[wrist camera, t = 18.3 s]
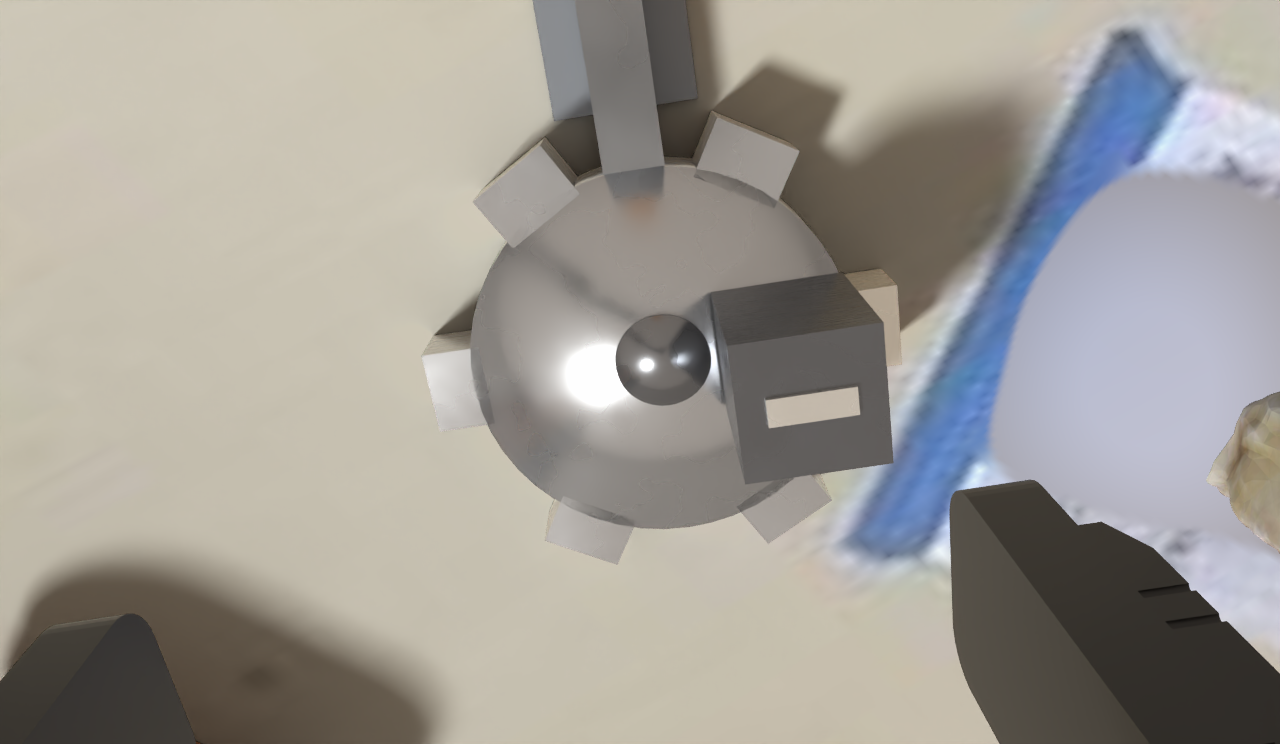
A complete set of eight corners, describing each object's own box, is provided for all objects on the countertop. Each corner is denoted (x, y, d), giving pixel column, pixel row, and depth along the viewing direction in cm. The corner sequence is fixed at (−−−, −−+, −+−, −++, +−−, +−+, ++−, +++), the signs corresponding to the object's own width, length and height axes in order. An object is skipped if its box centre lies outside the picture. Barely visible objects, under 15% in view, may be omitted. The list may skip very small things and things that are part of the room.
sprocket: (485, 553, 35) (476, 586, 33) (391, 160, 30) (374, 171, 28) (895, 495, 34) (912, 525, 32) (869, 85, 29) (886, 91, 27)
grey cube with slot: (726, 412, 31) (745, 486, 26) (710, 292, 29) (727, 347, 25) (852, 393, 31) (894, 465, 26) (842, 271, 29) (884, 323, 24)
